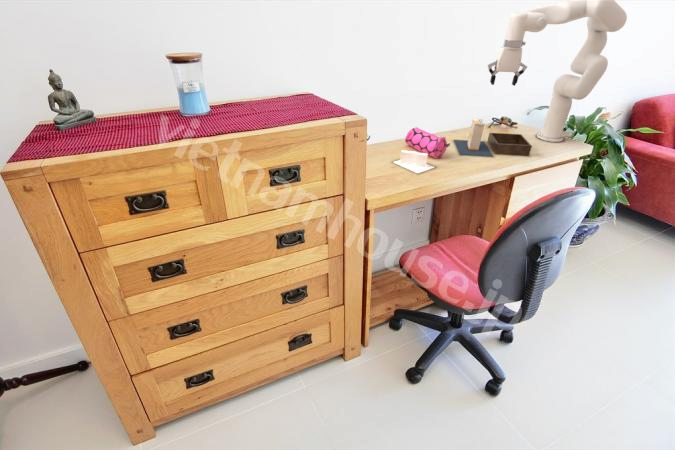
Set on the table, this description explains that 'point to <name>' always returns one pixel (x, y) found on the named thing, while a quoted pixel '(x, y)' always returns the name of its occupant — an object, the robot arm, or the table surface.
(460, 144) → the mat
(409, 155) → the napkin holder
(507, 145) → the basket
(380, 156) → the table surface
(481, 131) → the supplement box
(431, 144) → the pencil case
